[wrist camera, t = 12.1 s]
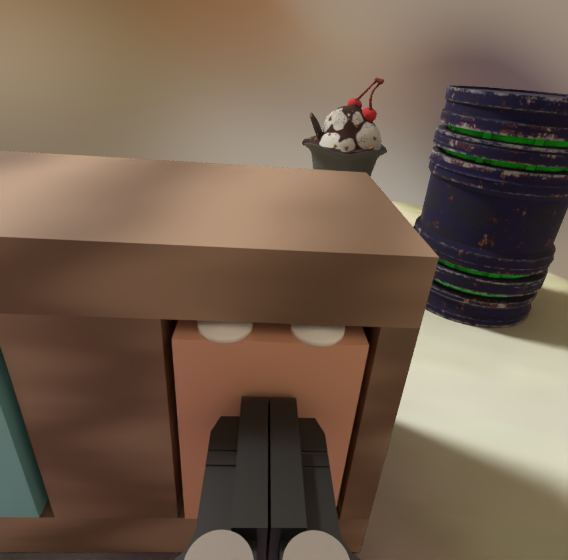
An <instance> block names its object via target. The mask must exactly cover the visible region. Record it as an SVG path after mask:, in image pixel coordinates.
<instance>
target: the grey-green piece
mask: <svg viewBox="0 0 568 560" xmlns="http://www.w3.org/2000/svg"><path fill="white" fill-rule="evenodd" d="M48 499H49V498H48V495H47V491H46V488H45V485H44V482H43V479H42V476H41V473H40V469H39V466H38V463H37V460H36V457H35V454H34V450H33V447H32V444H31V441H30V438H29V435H28V431H27V428H26V425H25V422H24V419H23V416H22V413H21V409H20V406H19V403H18V400H17V397H16V394H15V390H14V387H13V384H12V381H11V378H10V375H9V371H8V368H7V365H6V362H5V359H4V356H3V353H2V349H1V346H0V517H37V518H39V517H40V515H41V513H42V511H43V509H44V507H45V505H46V503H47V501H48Z"/></svg>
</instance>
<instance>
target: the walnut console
mask: <svg viewBox="0 0 568 560" xmlns="http://www.w3.org/2000/svg"><path fill="white" fill-rule="evenodd" d="M438 259H439V257H438V256H437V254H436V253H435V252H434V251H433V250H432V249H431V247H430V246H429V245H428V244H427V243H426V242H425V240H424V239H423V238H422V237H421V236H420V235H419V233H418V232H417V231H416V230H415V229H414V228H413V226H412V225H411V224H410V223H409V222H408V221H407V219H406V218H405V217H404V216H403V215H402V214H401V212H400V211H399V210H398V209H397V208H396V207H395V205H394V204H393V203H392V202H391V201H390V200H389V198H388V197H387V196H386V195H385V194H384V193H383V191H382V190H381V189H380V188H379V187H378V186H377V185H376V183H375V182H374V181H373V180H372V179H371V177H370V176H369V175H368V174H367V173H366V172H350V171H333V170H316V169H299V168H283V167H265V166H248V165H232V164H215V163H197V162H182V161H165V160H147V159H132V158H115V157H98V156H97V157H96V156H81V155H63V154H47V153H30V152H14V151H0V346H1V349H2V353H3V356H4V359H5V362H6V365H7V368H8V371H9V375H10V378H11V381H12V384H13V387H14V390H15V394H16V397H17V400H18V403H19V406H20V409H21V413H22V416H23V419H24V422H25V425H26V428H27V431H28V435H29V438H30V441H31V444H32V447H33V450H34V454H35V457H36V460H37V463H38V466H39V469H40V473H41V476H42V479H43V482H44V485H45V488H46V491H47V495H48V498H49V499H48V501H47V503H46V505H45V507H44V509H43V511H42V513H41V515H40V517H39V518H37V517H0V552H183V551H184V550H185V549H186V547H187V546H188V545H189V543H190V541H191V539H192V537H193V535H194V532H195V528H196V523H197V519H185V512H184V498H183V485H182V472H181V458H180V445H179V431H178V418H177V404H176V391H175V377H174V364H173V351H172V337H173V334H174V331H175V328H176V325H177V322H178V320H197V321H225V322H253V323H282V324H310V325H338V326H362V327H363V330H364V332H365V335H366V338H367V341H368V344H369V349H368V354H367V359H366V364H365V369H364V374H363V379H362V383H361V388H360V393H359V398H358V403H357V408H356V413H355V418H354V423H353V428H352V433H351V438H350V442H349V447H348V452H347V457H346V462H345V467H344V472H343V477H342V482H341V487H340V492H339V496H338V501H337V506H336V510H337V517H338V523H339V529H340V533H341V535H342V538H343V540H344V542H345V544H346V545H347V547H348V548H349V550H350V551H351V552H360V549H361V546H362V542H363V538H364V534H365V531H366V527H367V523H368V520H369V516H370V512H371V508H372V505H373V501H374V497H375V494H376V490H377V486H378V482H379V479H380V475H381V471H382V467H383V464H384V460H385V456H386V453H387V449H388V445H389V441H390V438H391V434H392V430H393V426H394V423H395V419H396V415H397V412H398V408H399V404H400V400H401V397H402V393H403V389H404V385H405V382H406V378H407V374H408V371H409V367H410V363H411V359H412V356H413V352H414V348H415V345H416V341H417V337H418V333H419V330H420V326H421V322H422V318H423V315H424V311H425V307H426V304H427V300H428V296H429V292H430V289H431V285H432V281H433V277H434V274H435V270H436V266H437V263H438Z"/></svg>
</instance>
